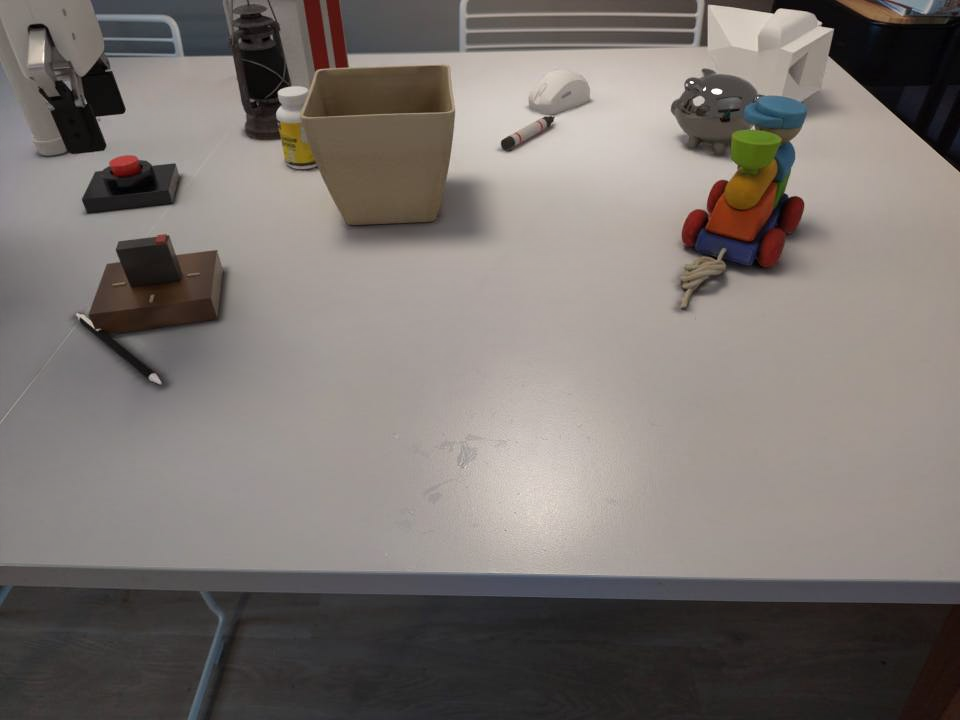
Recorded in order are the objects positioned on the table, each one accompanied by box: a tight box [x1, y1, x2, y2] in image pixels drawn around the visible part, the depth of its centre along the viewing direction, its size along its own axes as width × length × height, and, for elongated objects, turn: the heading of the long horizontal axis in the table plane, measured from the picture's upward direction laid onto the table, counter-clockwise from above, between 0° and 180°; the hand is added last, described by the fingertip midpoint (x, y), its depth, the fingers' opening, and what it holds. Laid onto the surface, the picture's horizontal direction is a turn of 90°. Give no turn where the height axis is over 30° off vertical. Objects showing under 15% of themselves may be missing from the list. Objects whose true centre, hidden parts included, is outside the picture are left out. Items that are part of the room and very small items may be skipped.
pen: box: [75, 312, 163, 385], centre depth 75 cm, size 1×19×1 cm, turn 49°
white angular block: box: [707, 4, 835, 103], centre depth 129 cm, size 17×24×17 cm
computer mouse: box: [527, 68, 591, 116], centre depth 130 cm, size 6×13×6 cm, turn 132°
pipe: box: [0, 18, 68, 157], centre depth 109 cm, size 6×6×30 cm
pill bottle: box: [276, 86, 318, 170], centre depth 109 cm, size 6×6×12 cm
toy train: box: [679, 95, 809, 310], centre depth 83 cm, size 12×29×17 cm, turn 147°
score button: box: [108, 154, 141, 176], centre depth 102 cm, size 4×4×2 cm
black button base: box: [81, 159, 180, 214], centre depth 104 cm, size 12×10×4 cm
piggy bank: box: [670, 67, 765, 156], centre depth 112 cm, size 11×15×12 cm
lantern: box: [226, 0, 292, 140], centre depth 115 cm, size 12×11×30 cm
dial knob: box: [115, 233, 182, 287], centre depth 78 cm, size 6×2×5 cm, turn 103°
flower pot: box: [300, 63, 456, 226], centre depth 95 cm, size 19×19×17 cm
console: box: [88, 249, 224, 336], centre depth 81 cm, size 13×11×3 cm
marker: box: [500, 115, 555, 151], centre depth 119 cm, size 15×2×2 cm, turn 143°
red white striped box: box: [221, 0, 350, 102], centre depth 133 cm, size 16×18×27 cm
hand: (99, 131), depth 65 cm, fingers open, 9 cm apart
